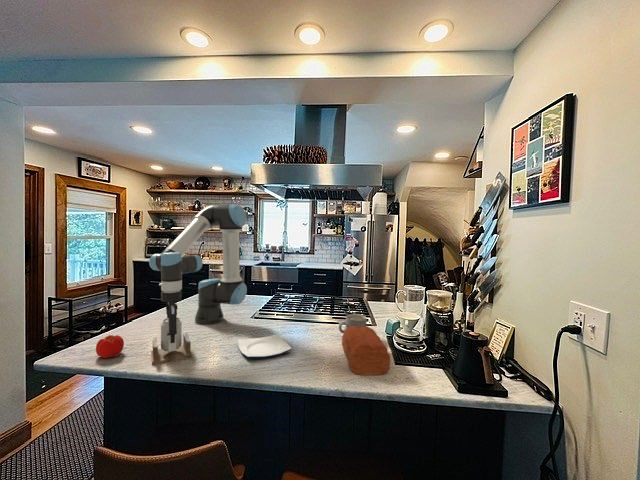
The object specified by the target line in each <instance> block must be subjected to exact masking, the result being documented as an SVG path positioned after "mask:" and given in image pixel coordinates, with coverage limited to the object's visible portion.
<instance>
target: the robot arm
mask: <svg viewBox="0 0 640 480" xmlns="http://www.w3.org/2000/svg"><path fill="white" fill-rule="evenodd" d="M246 223H247V214H246V211H245V209H244V208H243V206H241V205H240V204H233V203H230V204H225V203H224V204H211V205H209V206H207V207H205V208H203V209H202V210H200V211H199V212H198V213H197V214H196V215H194V216H193V220H192V222H190V224H189V225H188V226H187V227H186V228H185V229H183V231H182V232H181V233H180V234H178V236H177V237H176V238H175V239H174V240H172V242H171V243H169V245H168V246H167V247H166V248H165V249H164V250H163V251H162V252H161V253H154V254H152V255H151V256H150V257H149V260H148V264H149V267H150V268H151V269H152V270H153V271H157V272H160V276H161V277H160V279H161V281H160V283H159V284H158V286H159V287H160V286H161V287H160V290H161V293H160V301H161V302H163V303H166V305H165V310H166V311H165V312H166V318H169V334H167V335H168V351H173V350H176V334H177V323H176V317H178V305H177V302H179V301H181V300H182V299H183V291H182V290H183V275H185V274H190V273H196V272H198V271H200V270H201V269H202V267H203V259H202V257H201V256H199V255H197V254H188V255H184V254H185V253H187V251H188V250H189V249H190V248H191V247H192V245H194V243H196V241H197V240H199V238H200V237H201V236H202V235H203V234H204V232H206V231H207V232H208V231H209V230H210V229H211V228H213V227H219V231H220V233H222V235H221V236H222V278H219V277H218V278H209V279H203V280H201V281H199V282H198V289H197V290H198V299H197V301H198V307H197V310H196V314H195V316H194V323H195V324H197V325H215V324H218V323H221V322H223V321H224V319H225V318H224V317H225V316H224V312H223V309H222V306H221V304H224V305H226V304H227V305H231V306H234V305H240V304H242V303H243V302H244V301H245V299H246V296H247V291H248V289H247V285H246V283H243V278H242V277H241V276H240V274H241V273H240V232H241V231H242V230H243V227H244V226H245V225H246Z"/></svg>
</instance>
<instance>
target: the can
mask: <svg viewBox="0 0 640 480" xmlns="http://www.w3.org/2000/svg"><path fill="white" fill-rule="evenodd" d="M176 323H177V334H176V350H177V349H178V348H179V347H180V346H182V335H183V334H182V331H183V330H182V328H183V327H182V326H183V325H182V323H183V322H182V321H181V318H179V317H178V316H176ZM167 334H169V318H167V317H166V318H163V319H162V322H161V323H160V348H161V349H163V350H164V351H168V335H167ZM173 351H174V350H173Z"/></svg>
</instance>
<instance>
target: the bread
mask: <svg viewBox="0 0 640 480" xmlns="http://www.w3.org/2000/svg"><path fill="white" fill-rule="evenodd" d="M341 346H342V349H343V352H344V355H345V358H346V360H347V362H348V365H349V368H350V369H351V371H352V372H353V373H354V375H359V376H382V375H386V374H388V372H389V371H390V369H391V368H390V366H391V356H390V354H389V350H388V348H387V346H386V345H385V344H384V343H383V342H382V340H381V338H380V337H379V335H378V334H377V332H376V331H375V330H374V329H373V328H371V327H369V326H367V325H366V326H361V327H358V326H350V327H348V328H347V329H346V330H345V331H344V334H343V333H342V336H341Z"/></svg>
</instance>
